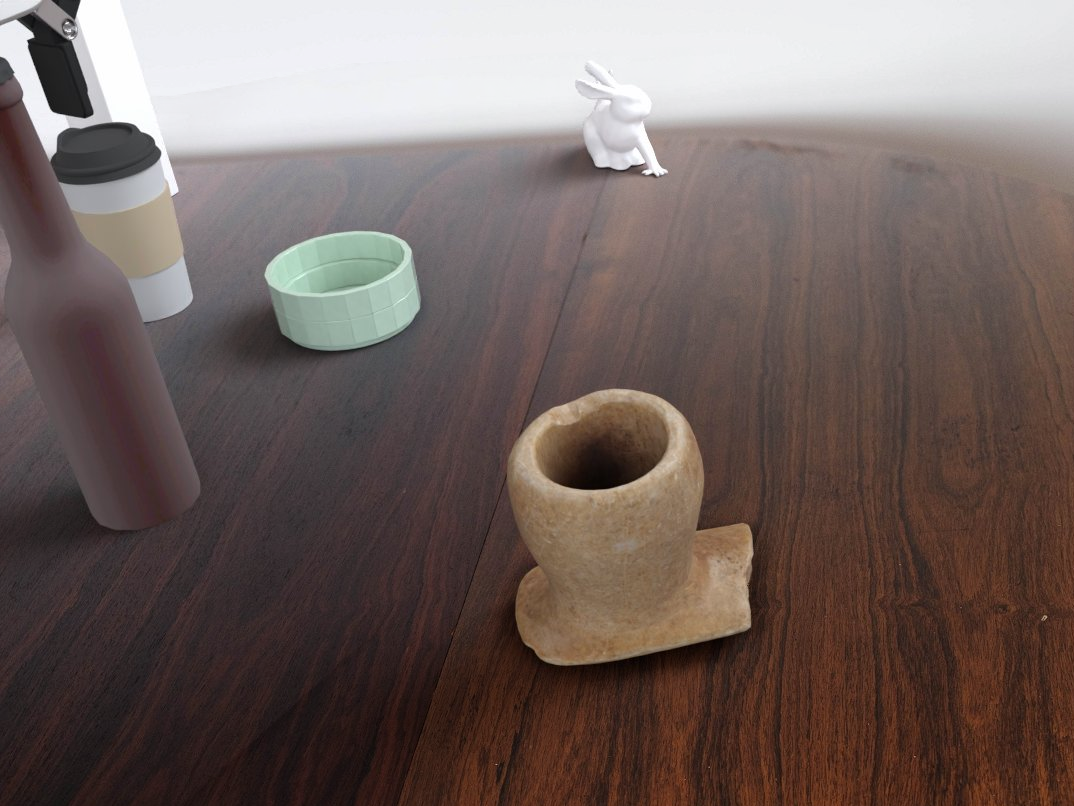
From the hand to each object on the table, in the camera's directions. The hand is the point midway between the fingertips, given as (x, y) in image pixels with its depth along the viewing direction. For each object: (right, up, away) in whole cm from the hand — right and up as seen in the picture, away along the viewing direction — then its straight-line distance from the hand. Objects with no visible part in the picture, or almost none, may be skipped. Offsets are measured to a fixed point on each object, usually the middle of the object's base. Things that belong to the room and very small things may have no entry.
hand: (8, 143), depth 73 cm
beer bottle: (+2, -19, +18) cm, 26 cm away
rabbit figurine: (+35, +24, +58) cm, 71 cm away
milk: (-15, +21, +61) cm, 66 cm away
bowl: (+12, +2, +38) cm, 40 cm away
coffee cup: (-7, +5, +43) cm, 44 cm away
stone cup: (+36, -27, +5) cm, 46 cm away
